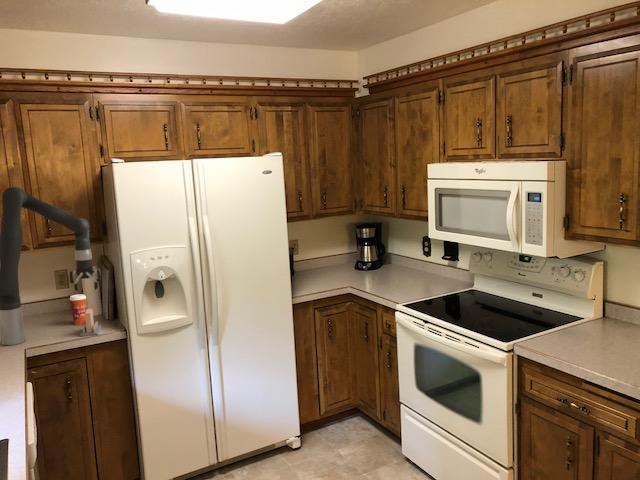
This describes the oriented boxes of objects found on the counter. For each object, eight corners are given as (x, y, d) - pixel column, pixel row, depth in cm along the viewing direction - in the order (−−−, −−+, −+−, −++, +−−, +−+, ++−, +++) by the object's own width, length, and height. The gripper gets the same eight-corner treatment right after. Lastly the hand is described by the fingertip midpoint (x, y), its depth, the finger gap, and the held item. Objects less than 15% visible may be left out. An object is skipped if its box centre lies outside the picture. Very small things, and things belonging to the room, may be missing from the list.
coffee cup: (77, 326, 280) (74, 298, 278) (69, 323, 285) (66, 296, 283) (91, 322, 287) (89, 295, 284) (83, 319, 292) (81, 293, 289)
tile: (91, 332, 266) (90, 313, 264) (86, 333, 265) (84, 313, 263) (94, 327, 274) (92, 308, 273) (89, 327, 274) (87, 308, 272)
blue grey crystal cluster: (80, 336, 263) (79, 330, 262) (84, 328, 275) (83, 322, 274) (97, 335, 265) (96, 328, 264) (101, 327, 277) (100, 320, 276)
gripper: (66, 260, 259) (69, 293, 261) (98, 258, 262) (100, 290, 265) (69, 258, 266) (72, 289, 268) (100, 256, 269) (102, 287, 272)
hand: (86, 290), depth 266 cm, fingers open, 8 cm apart
